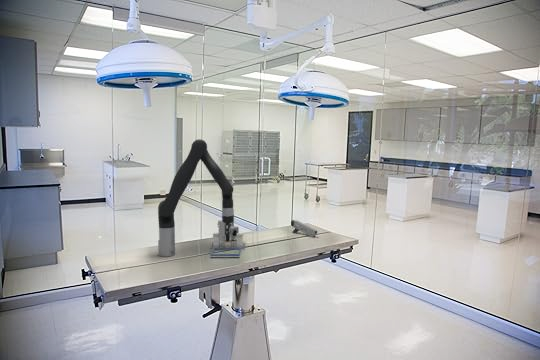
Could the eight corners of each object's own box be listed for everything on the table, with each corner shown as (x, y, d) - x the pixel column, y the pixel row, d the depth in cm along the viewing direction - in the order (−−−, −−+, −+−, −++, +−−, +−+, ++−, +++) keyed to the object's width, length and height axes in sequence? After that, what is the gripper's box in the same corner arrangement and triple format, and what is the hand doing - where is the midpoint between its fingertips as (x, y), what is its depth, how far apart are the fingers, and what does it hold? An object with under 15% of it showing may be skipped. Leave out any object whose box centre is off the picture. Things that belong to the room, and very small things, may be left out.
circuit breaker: (232, 245, 236) (232, 223, 234) (217, 242, 244) (217, 220, 243) (240, 243, 242) (240, 221, 240) (225, 239, 250) (225, 219, 249)
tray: (210, 258, 208) (210, 254, 208) (213, 251, 222) (213, 247, 221) (239, 258, 209) (239, 254, 208) (240, 251, 222) (240, 247, 222)
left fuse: (213, 248, 224) (212, 234, 224) (213, 246, 228) (213, 232, 227) (218, 248, 224) (218, 234, 224) (219, 246, 228) (219, 232, 227)
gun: (290, 230, 277) (293, 218, 274) (315, 243, 260) (318, 230, 257) (288, 230, 275) (291, 218, 272) (313, 243, 258) (315, 231, 255)
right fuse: (236, 248, 225) (236, 234, 224) (237, 246, 228) (237, 232, 228) (242, 248, 225) (242, 234, 224) (242, 246, 228) (242, 232, 228)
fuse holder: (209, 251, 222) (209, 243, 221) (212, 247, 231) (211, 240, 230) (244, 251, 222) (244, 243, 222) (245, 247, 231) (245, 240, 231)
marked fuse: (224, 248, 225) (224, 234, 224) (225, 246, 228) (225, 232, 227) (230, 248, 225) (230, 234, 224) (231, 246, 228) (231, 232, 227)
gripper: (223, 212, 232) (223, 236, 233) (220, 216, 217) (221, 242, 219) (234, 212, 232) (235, 236, 233) (232, 216, 218) (233, 242, 219)
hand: (228, 239), depth 226 cm, fingers open, 8 cm apart
